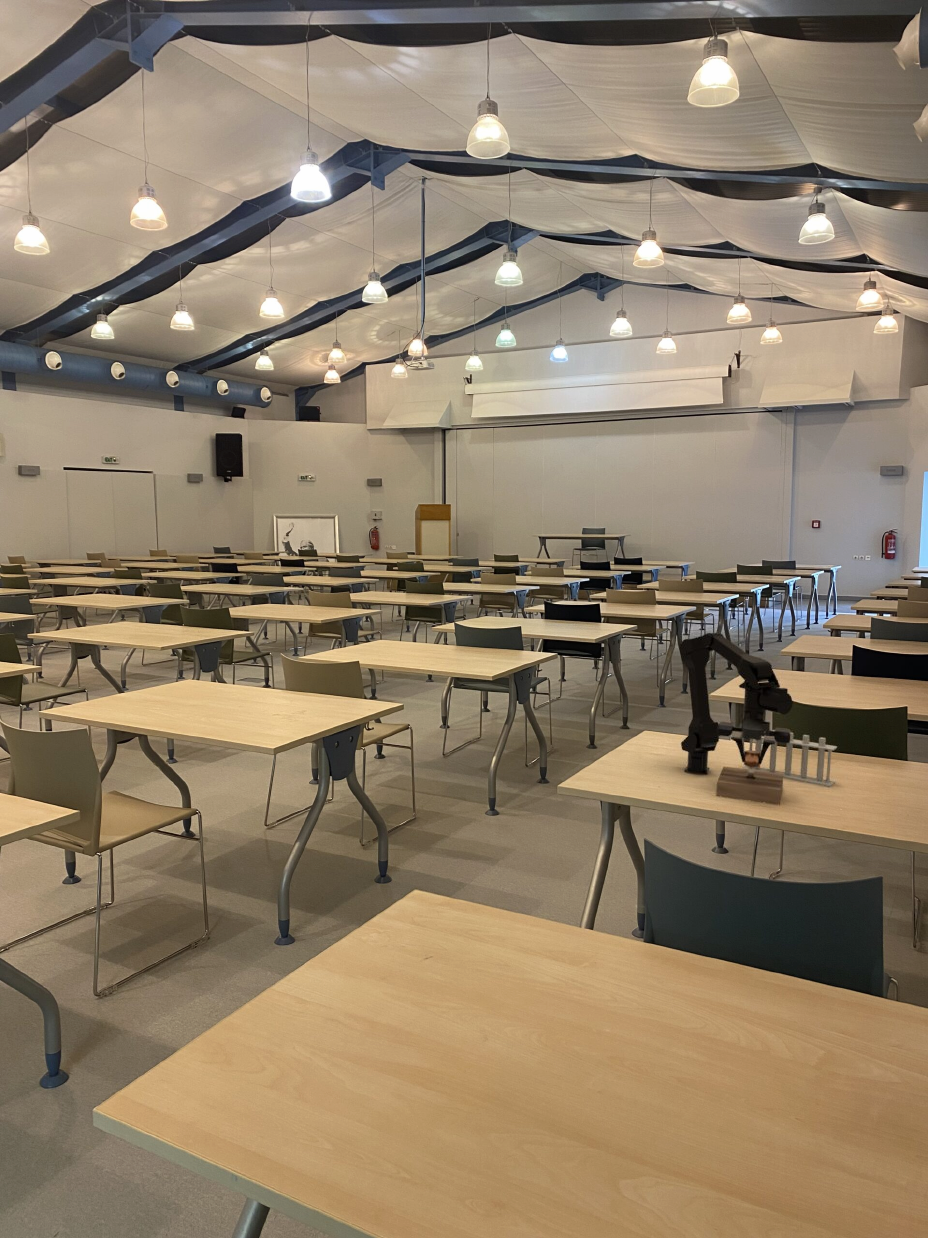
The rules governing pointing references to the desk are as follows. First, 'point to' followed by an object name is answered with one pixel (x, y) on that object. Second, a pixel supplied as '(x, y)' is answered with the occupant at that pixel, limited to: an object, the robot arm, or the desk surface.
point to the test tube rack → (804, 760)
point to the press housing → (750, 785)
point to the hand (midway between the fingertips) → (751, 763)
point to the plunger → (751, 761)
